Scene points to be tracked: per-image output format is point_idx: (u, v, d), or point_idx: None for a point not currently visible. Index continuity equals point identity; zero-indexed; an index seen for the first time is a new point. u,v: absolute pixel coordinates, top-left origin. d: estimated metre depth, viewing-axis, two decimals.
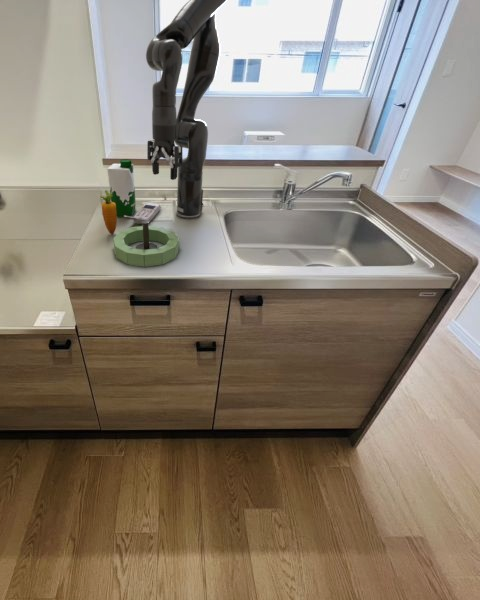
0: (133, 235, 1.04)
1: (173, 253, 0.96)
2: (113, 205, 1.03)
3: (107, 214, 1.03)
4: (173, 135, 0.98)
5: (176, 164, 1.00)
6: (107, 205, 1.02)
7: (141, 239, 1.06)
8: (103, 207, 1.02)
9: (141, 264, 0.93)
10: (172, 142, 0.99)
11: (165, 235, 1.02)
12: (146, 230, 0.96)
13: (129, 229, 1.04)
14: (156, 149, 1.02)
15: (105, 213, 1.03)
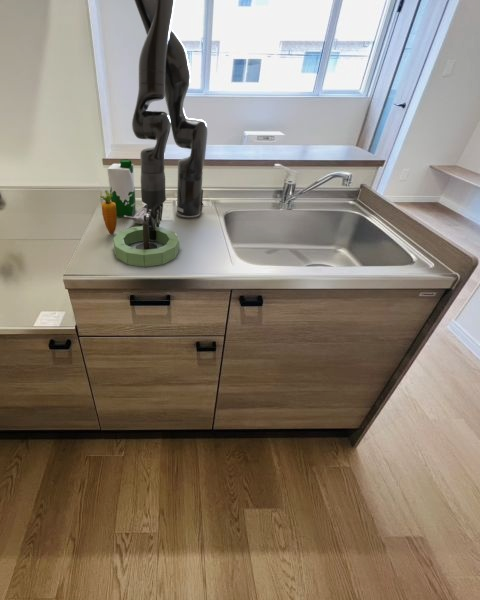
0: (133, 235, 1.04)
1: (173, 253, 0.96)
2: (113, 205, 1.03)
3: (107, 214, 1.03)
4: (150, 200, 0.96)
5: None
6: (107, 205, 1.02)
7: (141, 239, 1.06)
8: (103, 207, 1.02)
9: (141, 264, 0.93)
10: (149, 206, 0.97)
11: (165, 235, 1.02)
12: (146, 230, 0.96)
13: (129, 229, 1.04)
14: None
15: (105, 213, 1.03)
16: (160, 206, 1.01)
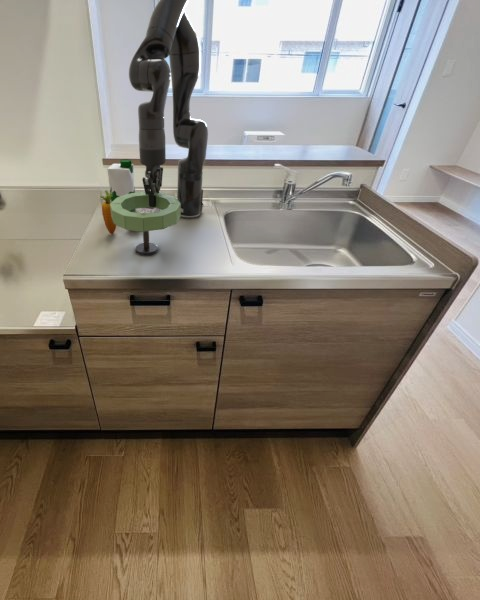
0: (131, 201, 0.97)
1: (174, 217, 0.89)
2: None
3: (107, 214, 1.03)
4: (150, 160, 0.89)
5: None
6: (107, 205, 1.02)
7: (140, 206, 0.99)
8: (103, 207, 1.02)
9: (140, 228, 0.86)
10: (148, 167, 0.90)
11: (166, 200, 0.95)
12: None
13: (127, 195, 0.97)
14: None
15: (105, 213, 1.03)
16: (160, 169, 0.95)
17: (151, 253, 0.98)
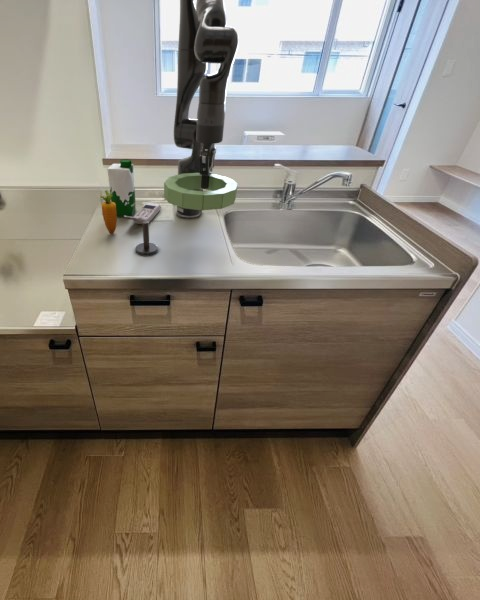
0: (184, 181, 0.93)
1: (233, 197, 0.85)
2: (113, 205, 1.03)
3: (107, 214, 1.03)
4: (208, 137, 0.85)
5: (200, 172, 0.90)
6: (107, 205, 1.02)
7: (191, 187, 0.95)
8: (103, 207, 1.02)
9: (199, 207, 0.82)
10: (206, 145, 0.87)
11: (220, 181, 0.92)
12: (146, 230, 0.96)
13: (179, 175, 0.94)
14: None
15: (105, 213, 1.03)
16: (215, 148, 0.91)
17: (151, 253, 0.98)
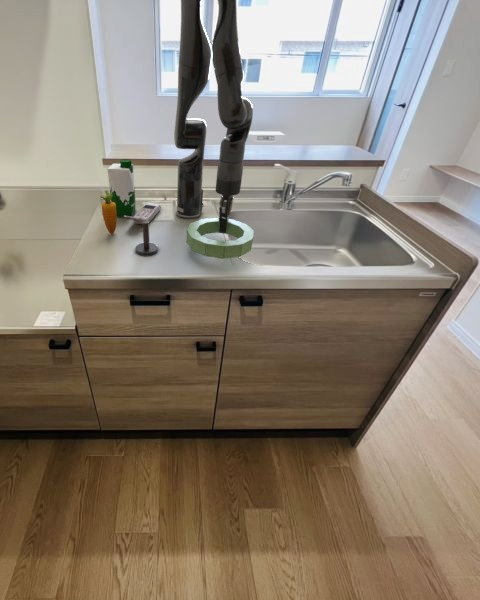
0: (204, 227, 1.01)
1: (250, 245, 0.93)
2: (113, 205, 1.03)
3: (107, 214, 1.03)
4: (227, 190, 0.94)
5: (219, 219, 0.99)
6: (107, 205, 1.02)
7: (210, 231, 1.04)
8: (103, 207, 1.02)
9: (220, 256, 0.90)
10: (225, 197, 0.95)
11: (237, 227, 1.00)
12: (146, 230, 0.96)
13: (199, 221, 1.02)
14: None
15: (105, 213, 1.03)
16: None
17: (151, 253, 0.98)
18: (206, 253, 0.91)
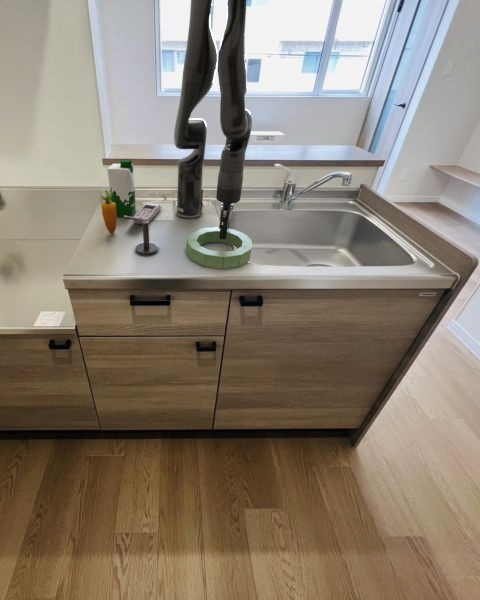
0: (203, 236, 1.03)
1: (249, 255, 0.95)
2: (113, 205, 1.03)
3: (107, 214, 1.03)
4: (228, 199, 0.95)
5: (219, 226, 0.98)
6: (107, 205, 1.02)
7: (209, 241, 1.06)
8: (103, 207, 1.02)
9: (219, 266, 0.92)
10: (226, 205, 0.97)
11: (236, 237, 1.02)
12: (146, 230, 0.96)
13: (199, 231, 1.04)
14: None
15: (105, 213, 1.03)
16: (233, 205, 1.01)
17: (151, 253, 0.98)
18: (205, 263, 0.93)
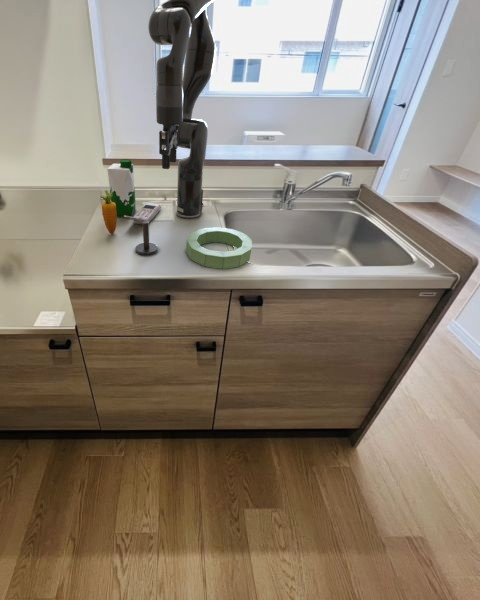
0: (203, 236, 1.03)
1: (249, 255, 0.95)
2: (113, 205, 1.03)
3: (107, 214, 1.03)
4: (167, 119, 0.87)
5: None
6: (107, 205, 1.02)
7: (209, 241, 1.06)
8: (103, 207, 1.02)
9: (219, 266, 0.92)
10: (165, 126, 0.89)
11: (236, 237, 1.02)
12: (146, 230, 0.96)
13: (199, 231, 1.04)
14: None
15: (105, 213, 1.03)
16: (176, 131, 0.93)
17: (151, 253, 0.98)
18: (205, 263, 0.93)
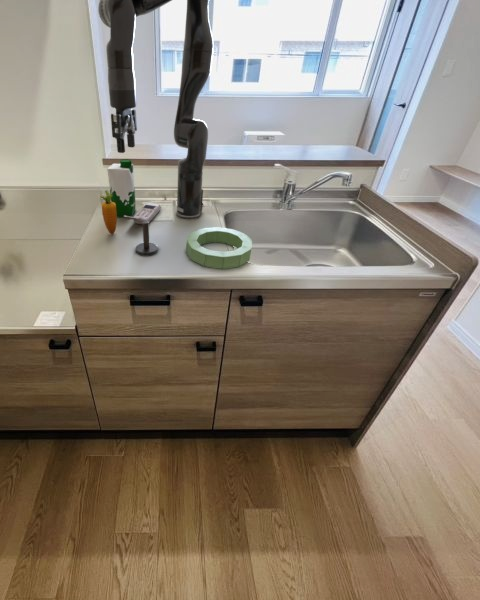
0: (203, 236, 1.03)
1: (249, 255, 0.95)
2: (113, 205, 1.03)
3: (107, 214, 1.03)
4: (119, 102, 0.89)
5: None
6: (107, 205, 1.02)
7: (209, 241, 1.06)
8: (103, 207, 1.02)
9: (219, 266, 0.92)
10: (118, 110, 0.90)
11: (236, 237, 1.02)
12: (146, 230, 0.96)
13: (199, 231, 1.04)
14: None
15: (105, 213, 1.03)
16: (131, 115, 0.94)
17: (151, 253, 0.98)
18: (205, 263, 0.93)
